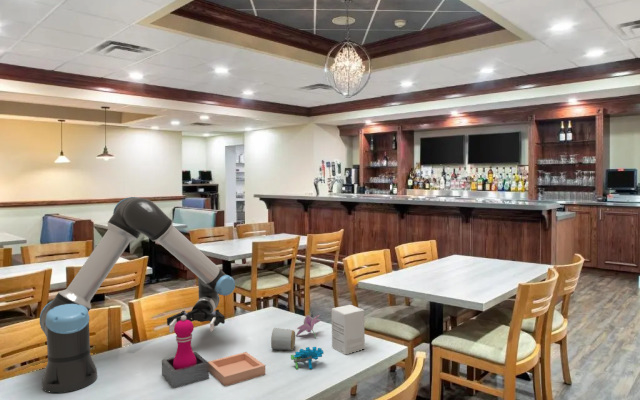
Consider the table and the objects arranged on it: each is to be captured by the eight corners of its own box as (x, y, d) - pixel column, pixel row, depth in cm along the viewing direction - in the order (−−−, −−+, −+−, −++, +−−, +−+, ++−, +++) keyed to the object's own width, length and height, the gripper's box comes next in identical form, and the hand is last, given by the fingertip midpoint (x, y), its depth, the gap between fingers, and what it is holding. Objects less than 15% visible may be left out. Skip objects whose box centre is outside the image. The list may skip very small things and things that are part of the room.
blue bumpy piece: (323, 354, 157) (322, 342, 150) (326, 371, 153) (324, 360, 146) (292, 360, 157) (289, 348, 149) (294, 377, 153) (290, 365, 145)
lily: (326, 334, 185) (316, 312, 188) (331, 332, 174) (321, 308, 177) (299, 346, 182) (290, 324, 184) (303, 345, 171) (293, 321, 174)
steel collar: (172, 388, 137) (172, 372, 137) (162, 375, 146) (161, 359, 146) (208, 378, 144) (208, 362, 143) (196, 366, 153) (195, 351, 153)
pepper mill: (201, 375, 146) (200, 314, 145) (184, 383, 140) (182, 320, 139) (186, 370, 150) (184, 310, 149) (168, 378, 144) (166, 316, 143)
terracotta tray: (224, 386, 138) (224, 376, 138) (207, 370, 149) (207, 361, 149) (265, 374, 146) (265, 365, 146) (246, 360, 157) (246, 351, 157)
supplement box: (350, 342, 173) (350, 303, 172) (365, 349, 165) (365, 309, 165) (331, 347, 168) (330, 307, 167) (345, 355, 161) (344, 313, 160)
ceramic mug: (293, 353, 163) (292, 332, 163) (270, 352, 164) (270, 331, 164) (297, 342, 174) (296, 323, 174) (276, 342, 175) (275, 322, 174)
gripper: (236, 317, 175) (228, 337, 154) (171, 320, 174) (154, 340, 153) (235, 298, 175) (227, 315, 154) (170, 301, 173) (153, 318, 152)
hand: (190, 328), depth 153 cm, fingers open, 13 cm apart
